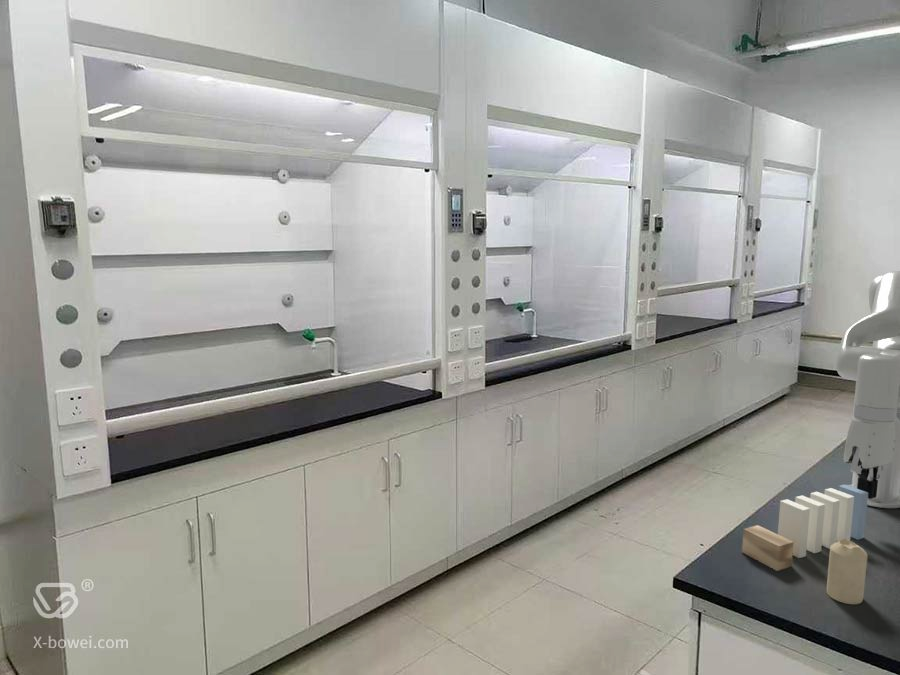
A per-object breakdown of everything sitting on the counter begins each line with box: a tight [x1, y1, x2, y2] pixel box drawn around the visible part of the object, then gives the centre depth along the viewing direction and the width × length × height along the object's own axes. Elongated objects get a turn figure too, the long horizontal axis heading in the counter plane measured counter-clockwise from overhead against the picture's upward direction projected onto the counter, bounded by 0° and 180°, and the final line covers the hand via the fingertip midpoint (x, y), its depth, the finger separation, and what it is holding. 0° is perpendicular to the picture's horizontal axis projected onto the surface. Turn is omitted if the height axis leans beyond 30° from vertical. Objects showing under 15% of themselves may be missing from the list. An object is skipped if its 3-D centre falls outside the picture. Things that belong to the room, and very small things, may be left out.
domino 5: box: [838, 483, 868, 541], centre depth 134 cm, size 2×5×10 cm, turn 25°
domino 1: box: [777, 498, 810, 559], centre depth 127 cm, size 2×5×10 cm, turn 25°
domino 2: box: [794, 495, 825, 554], centre depth 128 cm, size 2×5×10 cm, turn 25°
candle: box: [826, 539, 868, 605], centre depth 111 cm, size 6×6×10 cm
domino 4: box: [823, 487, 854, 542], centre depth 132 cm, size 2×5×10 cm, turn 25°
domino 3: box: [809, 491, 840, 550], centre depth 130 cm, size 2×5×10 cm, turn 25°
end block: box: [741, 524, 793, 571], centre depth 124 cm, size 4×8×5 cm, turn 25°
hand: (866, 495), depth 135 cm, fingers closed
